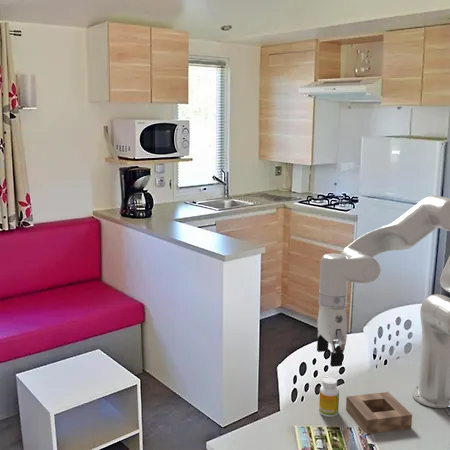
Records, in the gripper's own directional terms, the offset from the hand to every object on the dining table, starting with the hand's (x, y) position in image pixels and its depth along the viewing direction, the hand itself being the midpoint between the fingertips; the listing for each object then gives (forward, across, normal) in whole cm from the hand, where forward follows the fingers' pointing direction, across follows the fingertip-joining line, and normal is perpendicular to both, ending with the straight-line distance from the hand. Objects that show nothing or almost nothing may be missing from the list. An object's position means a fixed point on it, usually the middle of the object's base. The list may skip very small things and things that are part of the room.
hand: (329, 358), depth 155 cm
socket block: (+16, -6, -13) cm, 21 cm away
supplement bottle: (+17, 0, -1) cm, 17 cm away
